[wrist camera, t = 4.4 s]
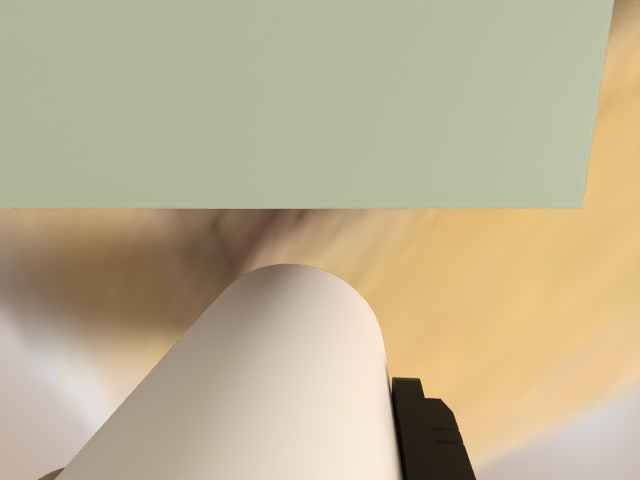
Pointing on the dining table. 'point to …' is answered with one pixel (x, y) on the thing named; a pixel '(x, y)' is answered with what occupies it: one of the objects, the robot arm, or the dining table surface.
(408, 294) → the dining table surface
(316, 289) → the can
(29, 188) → the lid
